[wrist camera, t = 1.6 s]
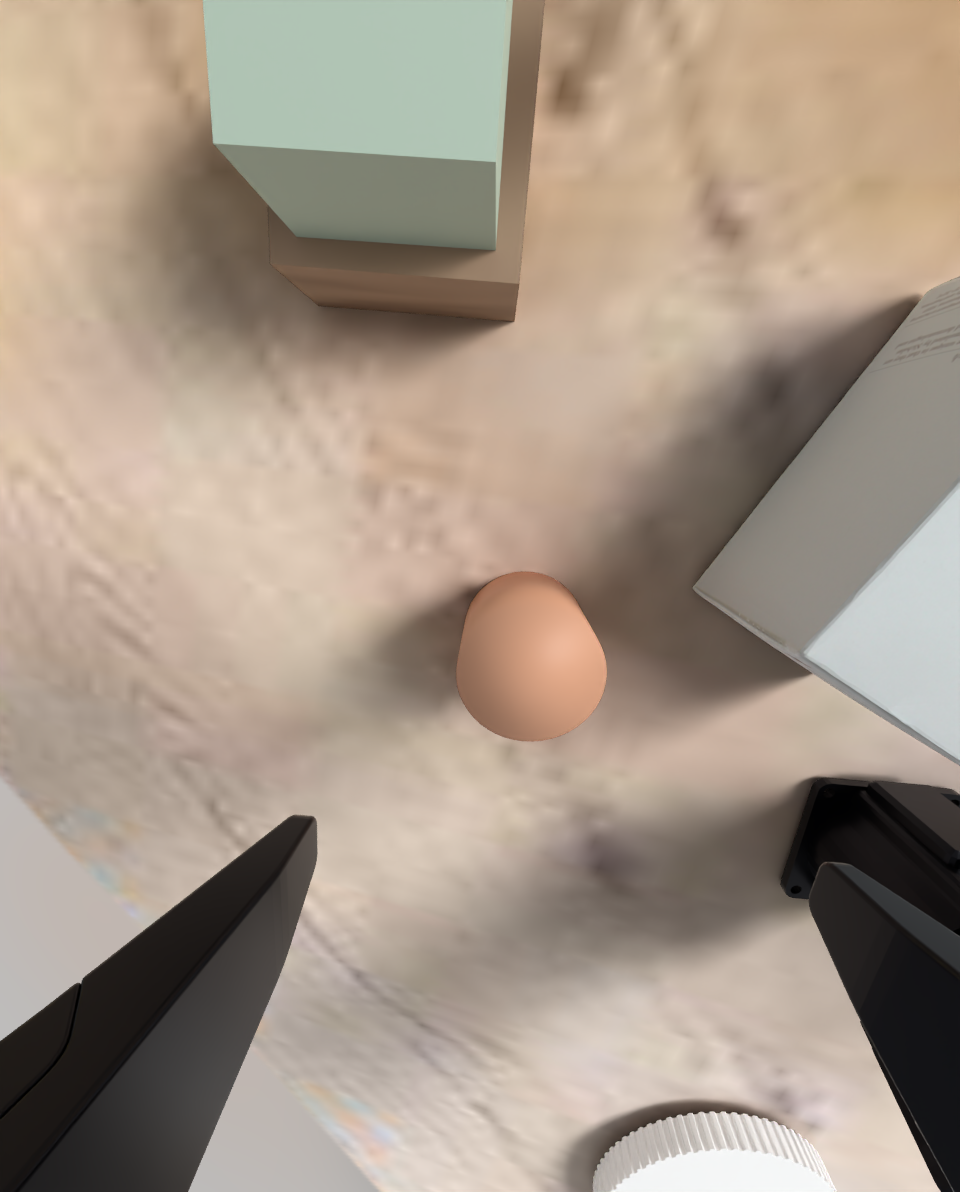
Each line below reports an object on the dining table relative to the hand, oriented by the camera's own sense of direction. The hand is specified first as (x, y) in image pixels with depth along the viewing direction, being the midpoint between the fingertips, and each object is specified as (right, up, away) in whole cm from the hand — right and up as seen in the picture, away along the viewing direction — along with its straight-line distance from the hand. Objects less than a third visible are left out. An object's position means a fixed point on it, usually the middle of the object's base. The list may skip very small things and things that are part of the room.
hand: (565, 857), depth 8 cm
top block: (-4, +17, +4) cm, 18 cm away
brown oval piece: (0, +3, +12) cm, 12 cm away
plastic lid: (+13, -31, +22) cm, 40 cm away
